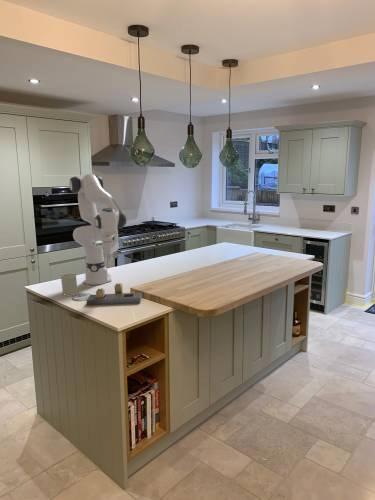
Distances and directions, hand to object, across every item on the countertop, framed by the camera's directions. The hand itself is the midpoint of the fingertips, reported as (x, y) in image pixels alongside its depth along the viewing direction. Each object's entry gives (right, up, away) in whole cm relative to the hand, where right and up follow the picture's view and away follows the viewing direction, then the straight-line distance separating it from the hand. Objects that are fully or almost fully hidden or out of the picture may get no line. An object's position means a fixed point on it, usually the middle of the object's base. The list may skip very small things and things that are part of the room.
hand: (112, 259), depth 226 cm
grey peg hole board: (+2, -24, -4) cm, 24 cm away
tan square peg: (-6, -24, -4) cm, 25 cm away
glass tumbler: (-29, -22, +15) cm, 39 cm away
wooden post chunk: (+3, -22, +5) cm, 23 cm away
